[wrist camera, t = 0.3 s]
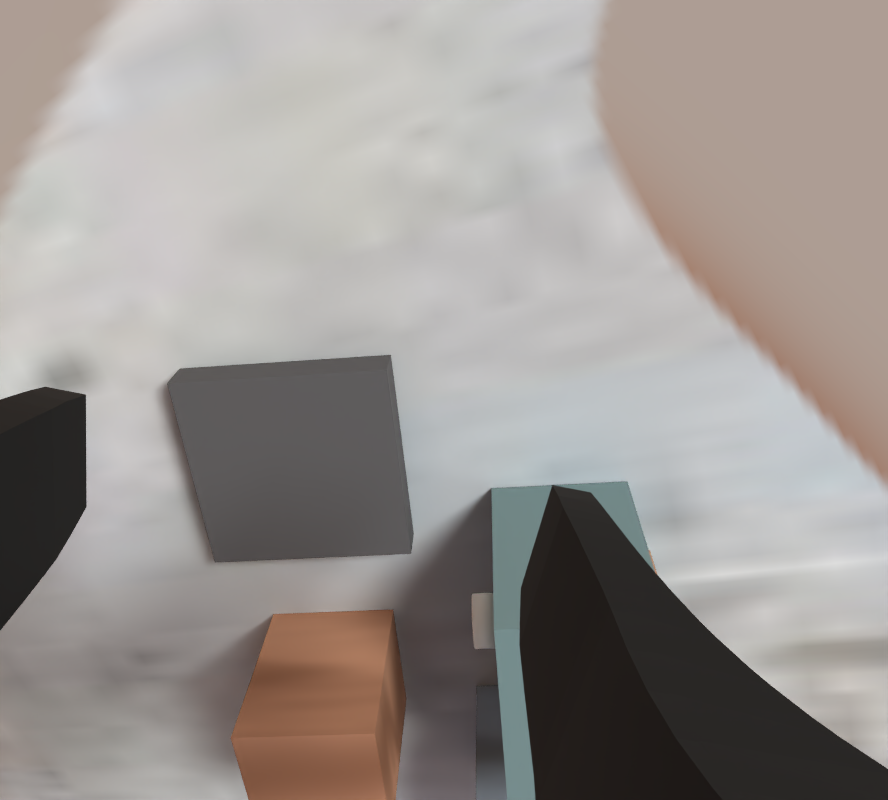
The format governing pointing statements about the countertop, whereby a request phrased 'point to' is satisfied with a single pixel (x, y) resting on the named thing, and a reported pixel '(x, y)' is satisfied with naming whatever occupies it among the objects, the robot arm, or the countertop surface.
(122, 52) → the countertop surface
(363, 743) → the terracotta block
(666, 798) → the robot arm
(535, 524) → the box
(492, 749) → the slate block
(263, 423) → the mat
